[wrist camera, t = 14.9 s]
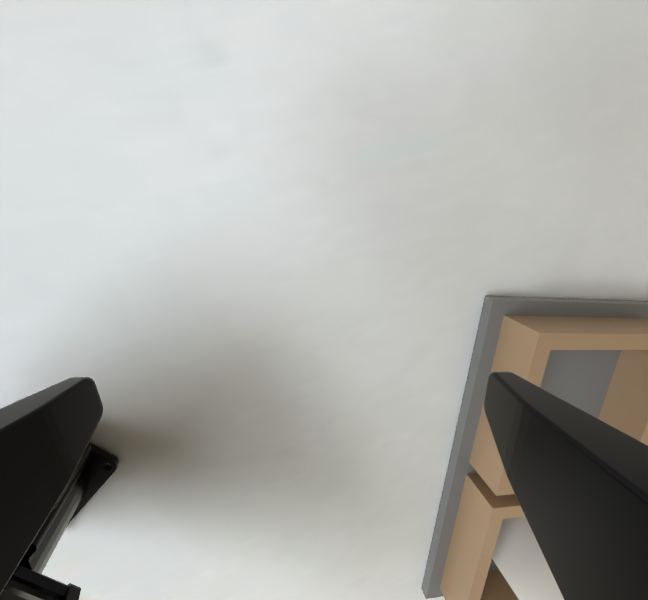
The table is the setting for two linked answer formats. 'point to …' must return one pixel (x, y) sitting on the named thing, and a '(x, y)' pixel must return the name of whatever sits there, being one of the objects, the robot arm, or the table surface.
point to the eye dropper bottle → (524, 562)
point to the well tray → (556, 378)
